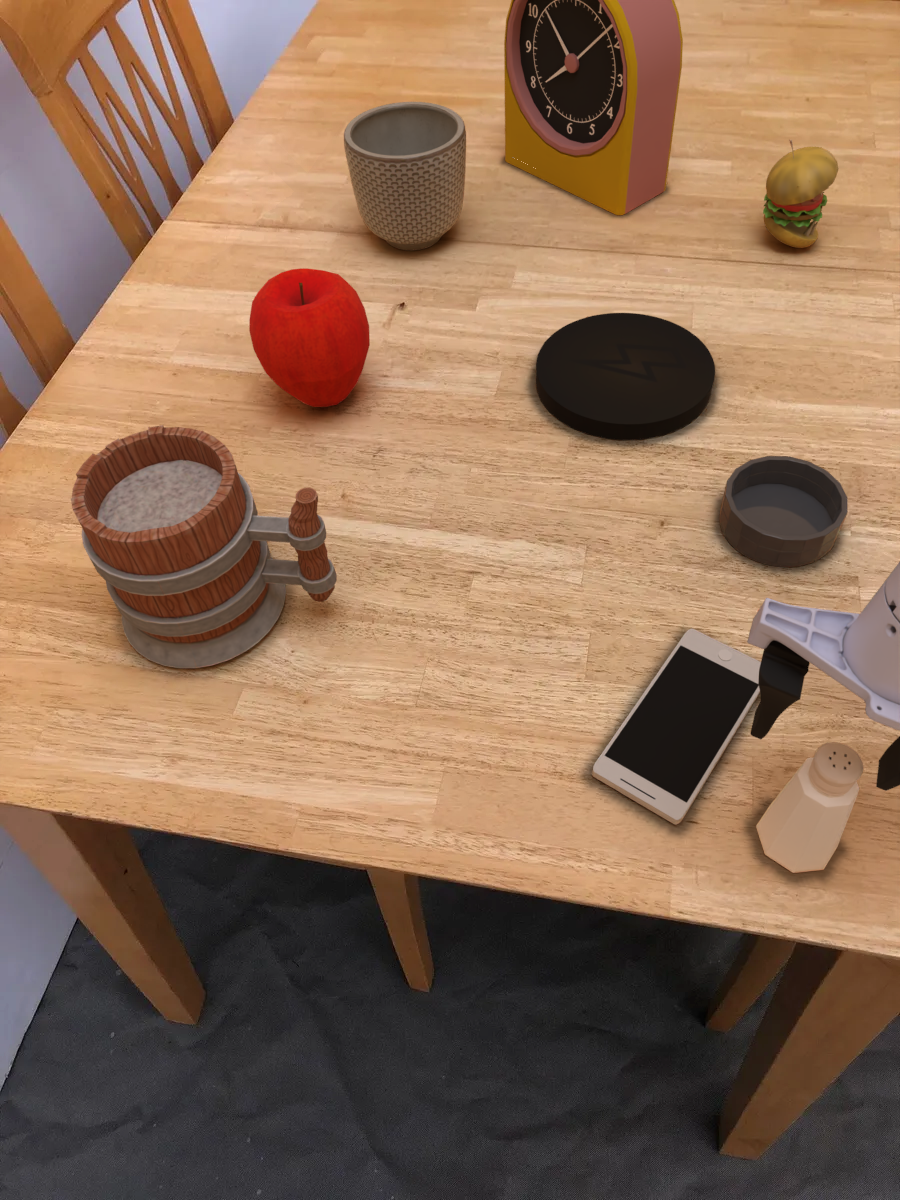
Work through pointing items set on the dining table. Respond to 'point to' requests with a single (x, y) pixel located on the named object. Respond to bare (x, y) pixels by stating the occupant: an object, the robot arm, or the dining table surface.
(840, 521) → the bowl
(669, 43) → the alarm clock
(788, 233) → the hamburger
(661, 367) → the wireless charger
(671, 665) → the smartphone
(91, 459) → the mug
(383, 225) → the planter
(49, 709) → the dining table surface
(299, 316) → the apple
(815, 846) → the salt shaker
